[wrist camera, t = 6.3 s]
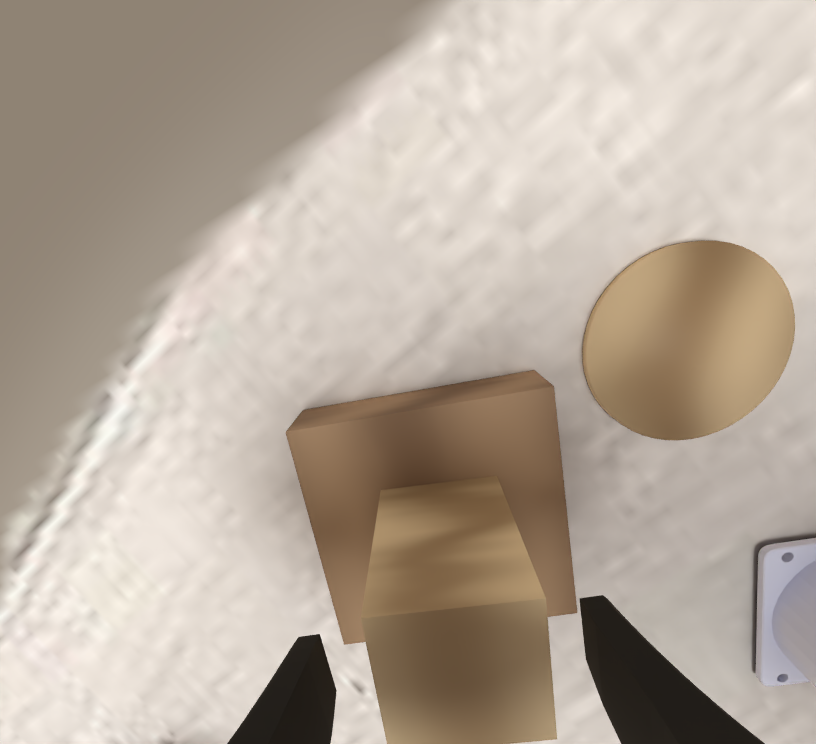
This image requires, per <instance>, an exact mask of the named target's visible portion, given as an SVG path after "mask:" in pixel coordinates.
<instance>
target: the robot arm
mask: <svg viewBox="0 0 816 744" xmlns="http://www.w3.org/2000/svg"><path fill="white" fill-rule="evenodd" d="M783 554H784V555H783ZM580 607H581V616H582V626H583V635H584V645H585V654H586V660H587V663H588V666H589V669H590V671H591V674H592V677H593V679H594V682H595V685H596V688H597V690H598V693H599V695H600V698H601V701H602V703H603V706H604V708H605V710H606V712H607V714H608V716H609V719H610V721H611V723H612V725H613V727H614V729H615V731H616V733H617V735H618V738H619V740H620V742H621V744H765V743H763V742H762V741H761V740H760V739H758V738H757V737H756V736H755V735H753V734H752V733H751V732H749V731H748V730H747V729H746V728H744V727H743V726H742V725H741V724H740V723H738V722H737V721H736V720H735V719H733V718H732V717H731V716H730V715H729V714H727V713H726V712H725V711H724V710H723V709H722V708H720V707H719V706H718V705H717V704H716V703H715V702H713V701H712V700H711V699H710V698H709V697H708V696H706V695H705V694H704V693H703V692H702V691H701V690H700V689H698V688H697V687H696V686H695V685H694V684H693V683H692V682H691V681H690V680H688V679H687V678H686V677H685V676H684V675H683V674H682V673H681V672H680V671H679V670H678V669H677V668H675V667H674V666H673V665H672V664H671V663H670V662H669V661H668V660H667V659H666V658H665V657H664V656H663V655H662V654H661V653H660V652H658V651H657V650H656V649H655V648H654V647H653V646H652V645H651V644H650V643H649V642H648V641H647V640H646V639H645V638H644V637H643V636H642V635H641V634H640V633H639V632H638V631H637V630H636V629H635V628H634V627H633V626H632V625H631V624H630V622H629V621H628V620H627V619H626V618H625V617H624V616H623V615H622V614H621V613H620V612H619V611H618V610H617V609H616V608H615V607H614V605H613V604H612V603H611V602H610V601H609V600H608V599H607V598H606V597H604V596H603V595H602V596H594V597H587V598H580ZM756 677H757V678H758V679H759V680H760V682H761V683H762V684H763V685H765V686H780V685H788V684H796V683H804V682H811V683H812V684H813V685H814V686H815V687H816V538H811V539H804V540H797V541H790V542H783V543H776V544H769V545H766V546H764V547H762V548H761V550H760V551H759V554H758V589H757V636H756ZM335 700H336V688H335V684H334V681H333V678H332V674H331V671H330V667H329V664H328V661H327V657H326V654H325V651H324V647H323V644H322V640H321V637H320V634H317V635H310V636H303V637H298V639H297V640H296V641H295V643H294V645H293V646H292V648H291V649H290V651H289V652H288V654H287V655H286V657H285V659H284V660H283V662H282V663H281V665H280V666H279V668H278V670H277V671H276V673H275V674H274V676H273V677H272V679H271V680H270V682H269V684H268V685H267V687H266V688H265V690H264V691H263V693H262V694H261V696H260V697H259V699H258V700H257V702H256V703H255V705H254V706H253V708H252V709H251V711H250V712H249V714H248V715H247V717H246V718H245V720H244V721H243V722H242V724H241V725H240V727H239V728H238V730H237V731H236V732H235V734H234V735H233V736H232V738H231V739H230V741H229V742H228V743H227V744H330V742H331V736H332V728H333V719H334V710H335Z"/></svg>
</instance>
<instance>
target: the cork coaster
mask: <svg viewBox="0 0 816 744" xmlns="http://www.w3.org/2000/svg"><path fill="white" fill-rule="evenodd" d="M794 332H795V315H794V309H793V303H792V300H791V297H790V294H789V291H788V289H787V287H786V285H785V283H784V281H783V279H782V278H781V277H780V275H779V274H778V273H777V271H776V270H775V269H774V268H773V267H772V266H771V265H770V264H769V263H768V262H767V261H766V260H765V259H763V258H762V257H760V256H759V255H758V254H756V253H755V252H752V251H750V250H748V249H746V248H744V247H742V246H738V245H735V244H732V243H727V242H720V241H695V242H686V243H679V244H675V245H671V246H667V247H664V248H661V249H659V250H656V251H654V252H651V253H649V254H648V255H646V256H644V257H642V258H640V259H638V260H637V261H636V262H634V263H633V264H631V265H630V266H628V267H627V268H626V269H625V270H624V271H623V272H621V273H620V274H619V275H618V276H617V277H616V278H615V279H614V280H613V281H612V282H611V284H610V285H609V286H608V287H607V288H606V289H605V291H604V292H603V294H602V295H601V297H600V298H599V299H598V301H597V303H596V305H595V307H594V309H593V311H592V313H591V316H590V318H589V321H588V323H587V327H586V331H585V335H584V341H583V366H584V373H585V376H586V380H587V383H588V386H589V388H590V390H591V392H592V394H593V396H594V397H595V399H596V400H597V402H598V403H599V405H600V406H601V407H602V408H603V409H604V410H605V411H606V412H607V413H608V414H609V415H610V416H611V417H613V418H614V419H615V420H616V421H618V422H619V423H620V424H622V425H623V426H625V427H627V428H628V429H630V430H632V431H634V432H636V433H639V434H641V435H644V436H648V437H651V438H656V439H663V440H686V439H693V438H698V437H703V436H706V435H709V434H712V433H715V432H718V431H720V430H722V429H724V428H726V427H728V426H730V425H732V424H734V423H735V422H737V421H739V420H740V419H742V418H743V417H744V416H746V415H747V414H748V413H750V412H751V411H752V410H753V409H754V408H756V407H757V406H758V405H759V404H760V403H761V402H762V401H763V400H764V399H765V397H766V396H767V395H768V394H769V393H770V392H771V390H772V389H773V387H774V386H775V384H776V383H777V381H778V380H779V378H780V376H781V375H782V373H783V371H784V369H785V367H786V364H787V362H788V359H789V356H790V353H791V349H792V345H793V341H794Z"/></svg>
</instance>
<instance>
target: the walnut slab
mask: <svg viewBox="0 0 816 744" xmlns="http://www.w3.org/2000/svg"><path fill="white" fill-rule="evenodd" d="M286 435H287V439H288V442H289V446H290V450H291V453H292V457H293V460H294V464H295V468H296V471H297V475H298V479H299V482H300V486H301V489H302V493H303V497H304V500H305V504H306V508H307V511H308V515H309V518H310V522H311V526H312V529H313V533H314V537H315V540H316V544H317V548H318V551H319V555H320V558H321V562H322V566H323V569H324V573H325V577H326V580H327V584H328V587H329V591H330V595H331V598H332V602H333V606H334V609H335V613H336V616H337V620H338V624H339V627H340V631H341V635H342V638H343V642H344V645H345V644H352V643H360V642H366V641H365V636H364V631H363V627H362V622H361V614H362V607H363V601H364V594H365V588H366V582H367V575H368V569H369V562H370V556H371V550H372V543H373V537H374V530H375V524H376V517H377V511H378V505H379V498H380V492H381V490H386V489H395V488H403V487H411V486H419V485H427V484H435V483H443V482H451V481H459V480H467V479H475V478H483V477H491V476H497V477H498V480H499V482H500V485H501V487H502V490H503V492H504V495H505V497H506V500H507V502H508V505H509V507H510V510H511V512H512V515H513V517H514V520H515V522H516V525H517V527H518V530H519V532H520V535H521V537H522V540H523V542H524V545H525V547H526V550H527V552H528V555H529V557H530V560H531V562H532V565H533V567H534V570H535V572H536V575H537V577H538V580H539V582H540V585H541V587H542V590H543V592H544V595H545V597H546V606H547V617H550V616H558V615H565V614H572V613H577V605H576V596H575V586H574V576H573V567H572V557H571V547H570V538H569V528H568V519H567V509H566V499H565V490H564V480H563V470H562V461H561V451H560V442H559V432H558V422H557V413H556V403H555V393H554V386H553V385H552V384H550V383H549V382H548V381H547V380H546V379H544V378H543V377H542V376H541V375H540V374H538V373H537V372H536V371H535V370H532V371H526V372H521V373H515V374H509V375H503V376H497V377H492V378H486V379H480V380H474V381H469V382H463V383H457V384H451V385H445V386H440V387H434V388H428V389H422V390H417V391H411V392H405V393H399V394H393V395H388V396H382V397H376V398H370V399H364V400H359V401H353V402H347V403H341V404H336V405H330V406H324V407H318V408H312V409H307V410H303V411H302V412H301V413H300V415H299V416H298V417H297V418H296V420H295V421H294V422H293V423H292V425H291V426H290V427H289V428H288V430H287V431H286Z"/></svg>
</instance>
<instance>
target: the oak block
mask: <svg viewBox="0 0 816 744" xmlns="http://www.w3.org/2000/svg"><path fill="white" fill-rule="evenodd" d="M361 622H362V627H363V631H364V636H365V641H366V646H367V650H368V655H369V660H370V664H371V669H372V674H373V679H374V683H375V688H376V693H377V698H378V702H379V707H380V712H381V717H382V721H383V726H384V731H385V736H386V740H387V744H509V743H520V742H531V741H542V740H554V739H557V733H556V720H555V708H554V695H553V682H552V670H551V657H550V644H549V631H548V619H547V606H546V597H545V595H544V592H543V590H542V587H541V585H540V582H539V580H538V577H537V575H536V572H535V570H534V567H533V565H532V562H531V560H530V557H529V555H528V552H527V550H526V547H525V545H524V542H523V540H522V537H521V535H520V532H519V530H518V527H517V525H516V522H515V520H514V517H513V515H512V512H511V510H510V507H509V505H508V502H507V500H506V497H505V495H504V492H503V490H502V487H501V485H500V482H499V480H498V477H497V476H491V477H483V478H475V479H467V480H459V481H451V482H443V483H435V484H427V485H419V486H411V487H403V488H395V489H386V490H381V492H380V498H379V505H378V511H377V517H376V524H375V530H374V537H373V543H372V550H371V556H370V562H369V569H368V575H367V582H366V588H365V594H364V601H363V607H362V614H361Z"/></svg>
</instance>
